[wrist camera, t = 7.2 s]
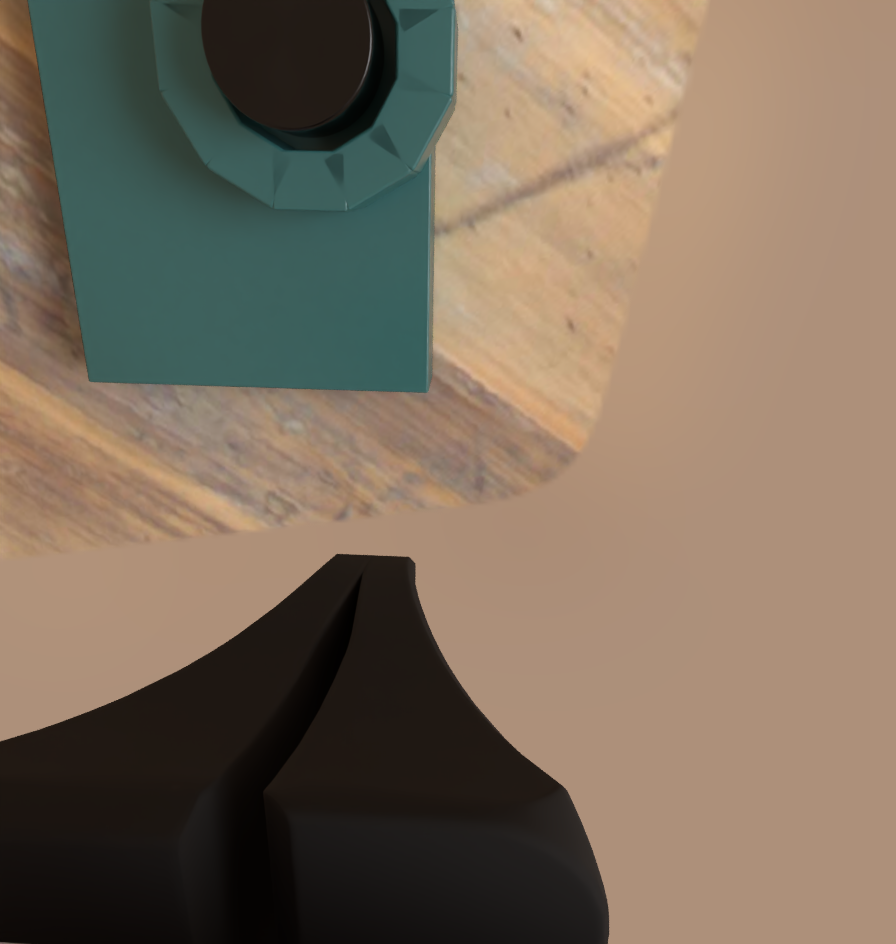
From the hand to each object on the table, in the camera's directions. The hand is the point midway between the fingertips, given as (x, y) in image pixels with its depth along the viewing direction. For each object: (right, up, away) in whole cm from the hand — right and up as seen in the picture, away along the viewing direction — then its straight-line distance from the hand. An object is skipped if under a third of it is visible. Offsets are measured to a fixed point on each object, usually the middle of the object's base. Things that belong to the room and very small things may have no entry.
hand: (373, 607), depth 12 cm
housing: (-4, +11, +6) cm, 13 cm away
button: (-2, +11, +3) cm, 11 cm away
